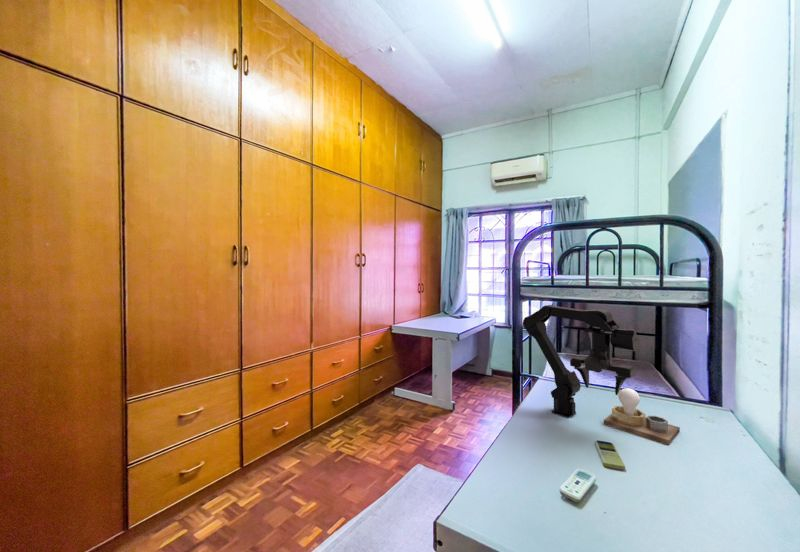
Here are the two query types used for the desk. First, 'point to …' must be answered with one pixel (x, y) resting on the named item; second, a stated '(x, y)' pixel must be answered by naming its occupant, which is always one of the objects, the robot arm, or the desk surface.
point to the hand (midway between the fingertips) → (601, 390)
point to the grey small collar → (657, 423)
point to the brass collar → (620, 416)
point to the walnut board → (645, 430)
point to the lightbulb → (629, 400)
